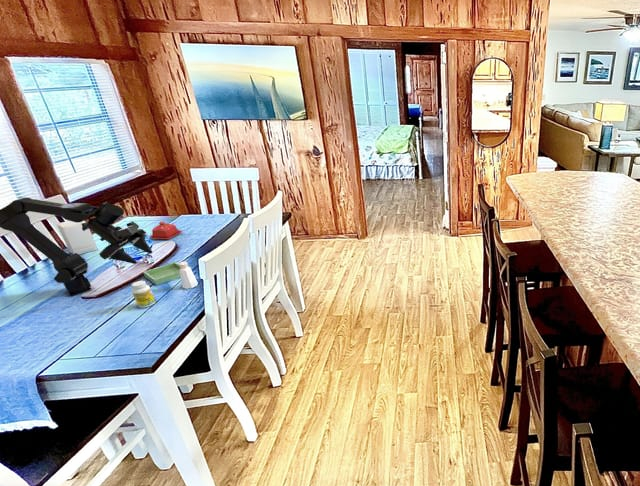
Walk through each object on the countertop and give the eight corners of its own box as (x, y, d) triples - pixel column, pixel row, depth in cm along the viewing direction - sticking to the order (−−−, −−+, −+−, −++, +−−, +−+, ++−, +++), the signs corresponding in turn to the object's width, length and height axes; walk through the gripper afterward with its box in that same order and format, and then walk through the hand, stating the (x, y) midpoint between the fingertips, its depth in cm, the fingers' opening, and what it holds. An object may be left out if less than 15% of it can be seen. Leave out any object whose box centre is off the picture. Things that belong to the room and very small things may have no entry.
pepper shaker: (196, 281, 168) (189, 258, 164) (199, 286, 165) (191, 263, 160) (181, 285, 165) (173, 262, 160) (184, 290, 161) (175, 267, 157)
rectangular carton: (99, 249, 194) (86, 221, 188) (75, 256, 188) (61, 227, 181) (92, 245, 199) (80, 218, 192) (68, 251, 192) (55, 223, 186)
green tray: (156, 285, 164) (154, 280, 163) (145, 277, 171) (143, 271, 169) (188, 274, 174) (187, 269, 173) (176, 266, 180) (175, 261, 179)
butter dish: (169, 240, 205) (164, 226, 202) (147, 240, 205) (142, 225, 202) (184, 232, 216) (180, 218, 212) (164, 232, 216) (159, 217, 212)
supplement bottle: (156, 299, 155) (148, 278, 151) (155, 305, 151) (146, 284, 147) (139, 303, 152) (130, 281, 148) (137, 309, 148) (128, 288, 144)
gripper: (100, 227, 140) (140, 256, 147) (135, 210, 157) (171, 237, 163) (81, 245, 143) (122, 273, 149) (119, 226, 159) (154, 252, 165)
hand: (144, 258), depth 156 cm, fingers open, 9 cm apart
